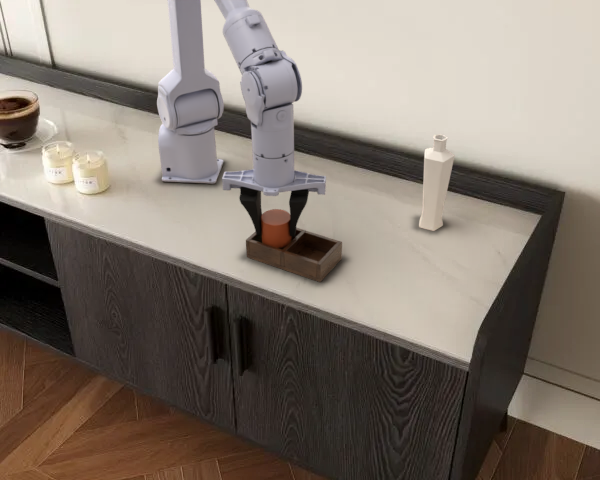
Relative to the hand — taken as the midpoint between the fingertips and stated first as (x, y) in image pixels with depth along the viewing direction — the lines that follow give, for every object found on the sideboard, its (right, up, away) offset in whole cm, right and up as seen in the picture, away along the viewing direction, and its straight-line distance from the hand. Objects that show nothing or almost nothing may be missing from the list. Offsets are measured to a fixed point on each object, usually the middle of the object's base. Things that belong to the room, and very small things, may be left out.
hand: (276, 231), depth 112 cm
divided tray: (+3, -4, +1) cm, 5 cm away
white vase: (+24, +2, +8) cm, 25 cm away
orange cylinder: (0, -1, +1) cm, 1 cm away
